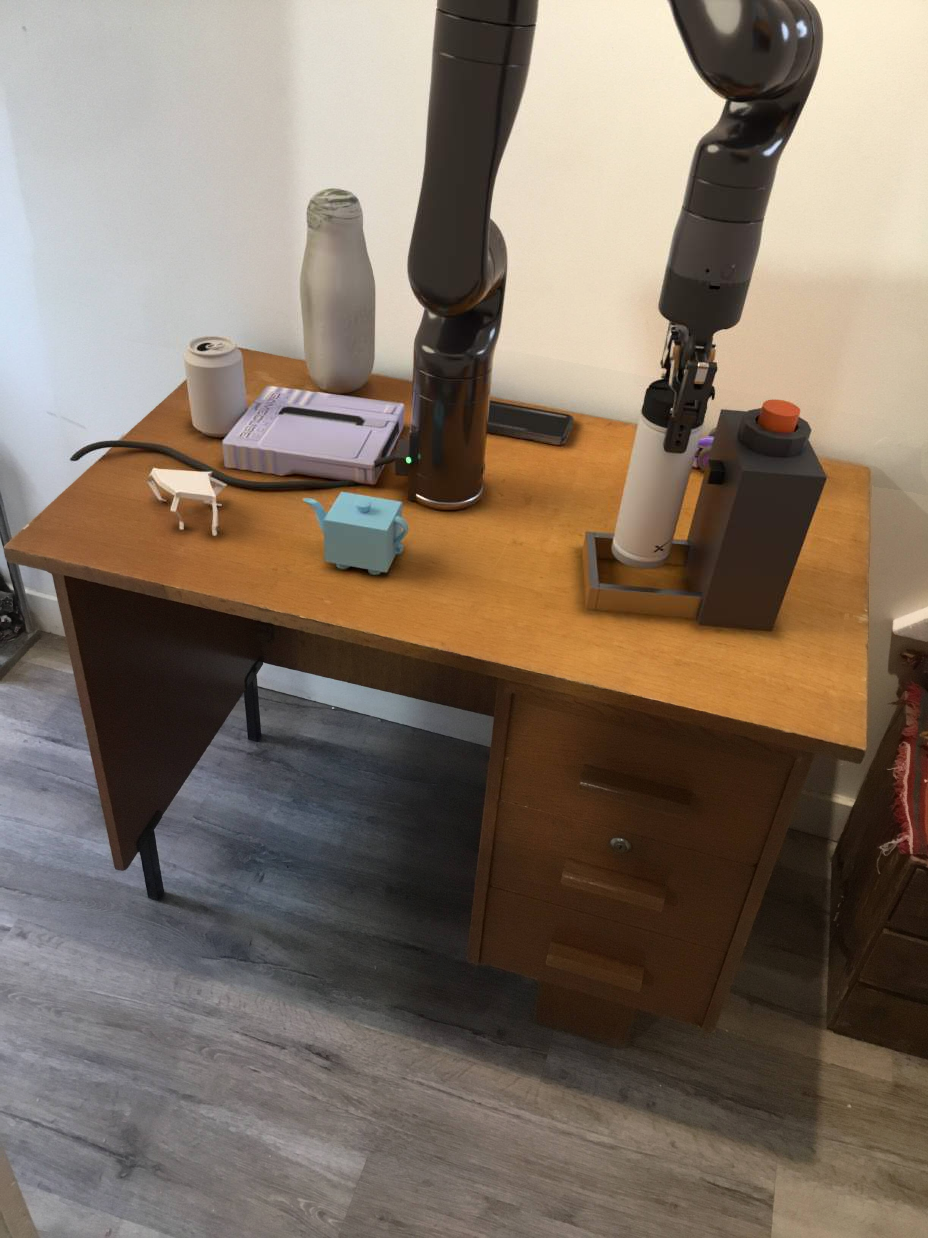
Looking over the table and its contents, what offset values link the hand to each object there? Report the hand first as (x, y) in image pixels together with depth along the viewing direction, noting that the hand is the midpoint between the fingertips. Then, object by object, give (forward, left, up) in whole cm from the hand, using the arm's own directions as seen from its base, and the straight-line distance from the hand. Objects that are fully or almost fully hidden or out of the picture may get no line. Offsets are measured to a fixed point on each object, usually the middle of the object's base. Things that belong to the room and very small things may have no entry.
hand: (669, 434), depth 91 cm
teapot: (-32, 0, -19) cm, 37 cm away
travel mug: (0, 0, -15) cm, 15 cm away
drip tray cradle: (0, 0, -19) cm, 19 cm away
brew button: (+10, 0, +2) cm, 10 cm away
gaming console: (-41, +25, -19) cm, 52 cm away
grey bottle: (-41, +43, -19) cm, 63 cm away
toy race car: (+17, +29, -19) cm, 39 cm away
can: (-55, +28, -19) cm, 65 cm away
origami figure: (-53, +6, -19) cm, 57 cm away
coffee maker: (+10, 0, -19) cm, 21 cm away
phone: (-14, +36, -19) cm, 43 cm away
